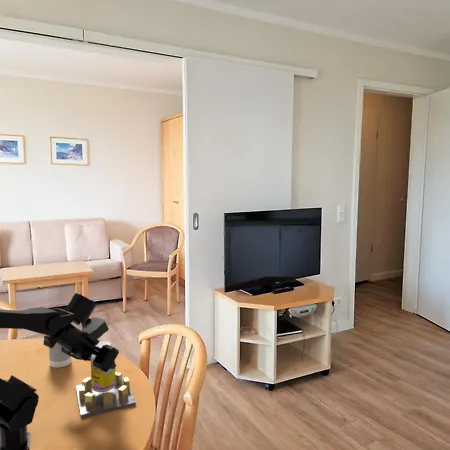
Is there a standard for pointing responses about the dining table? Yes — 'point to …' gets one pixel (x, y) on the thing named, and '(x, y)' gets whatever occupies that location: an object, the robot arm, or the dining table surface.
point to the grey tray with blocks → (104, 397)
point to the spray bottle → (58, 357)
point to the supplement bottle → (102, 375)
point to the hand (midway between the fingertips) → (107, 363)
